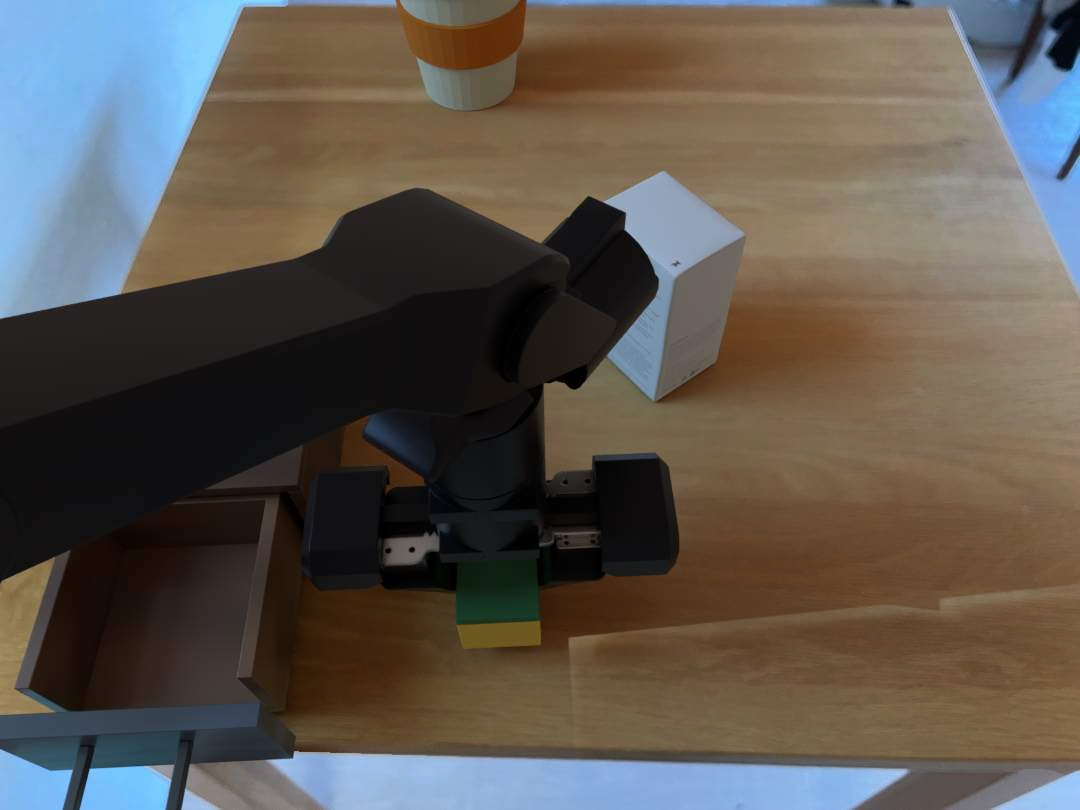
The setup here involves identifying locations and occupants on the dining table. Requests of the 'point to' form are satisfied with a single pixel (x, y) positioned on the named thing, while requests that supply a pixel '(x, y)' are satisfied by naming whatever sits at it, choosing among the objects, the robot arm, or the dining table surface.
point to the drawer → (165, 644)
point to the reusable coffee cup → (465, 48)
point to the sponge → (498, 603)
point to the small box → (677, 284)
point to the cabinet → (286, 473)
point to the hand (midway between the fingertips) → (500, 583)
